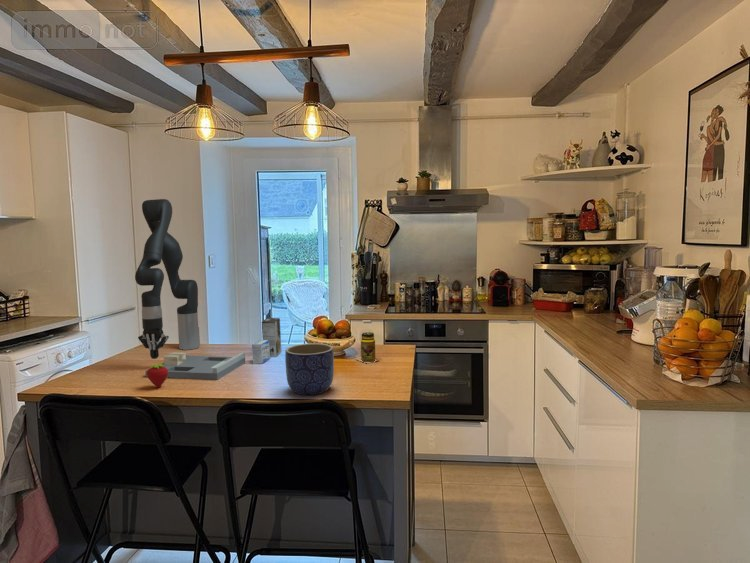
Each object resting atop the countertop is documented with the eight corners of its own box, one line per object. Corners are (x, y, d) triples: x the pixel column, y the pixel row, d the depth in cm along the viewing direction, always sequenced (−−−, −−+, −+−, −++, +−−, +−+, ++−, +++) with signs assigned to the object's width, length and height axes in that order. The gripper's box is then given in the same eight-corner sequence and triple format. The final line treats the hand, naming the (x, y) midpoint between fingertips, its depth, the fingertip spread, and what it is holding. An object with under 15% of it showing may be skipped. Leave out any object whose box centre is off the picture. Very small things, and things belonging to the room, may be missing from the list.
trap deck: (181, 360, 212) (180, 350, 211) (245, 362, 206) (244, 352, 206) (145, 377, 188) (145, 365, 188) (217, 379, 183) (216, 368, 182)
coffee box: (267, 352, 225) (266, 317, 223) (281, 352, 224) (280, 317, 223) (262, 357, 215) (261, 321, 214) (277, 357, 215) (275, 321, 214)
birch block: (172, 360, 202) (172, 352, 202) (185, 361, 201) (185, 352, 201) (164, 364, 196) (163, 356, 196) (177, 365, 195) (177, 356, 195)
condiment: (365, 364, 201) (365, 335, 200) (354, 360, 208) (354, 332, 207) (380, 361, 205) (379, 333, 204) (369, 357, 212) (368, 330, 211)
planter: (344, 389, 170) (343, 347, 168) (308, 401, 157) (306, 357, 156) (313, 380, 181) (311, 340, 179) (276, 391, 168) (275, 349, 167)
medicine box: (262, 364, 204) (261, 344, 203) (252, 364, 205) (251, 343, 204) (270, 359, 212) (269, 340, 211) (260, 359, 212) (259, 339, 212)
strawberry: (153, 384, 179) (152, 357, 178) (172, 385, 177) (171, 358, 176) (143, 389, 173) (142, 362, 172) (163, 390, 172) (161, 362, 171)
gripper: (172, 315, 201) (174, 356, 203) (143, 315, 203) (146, 355, 205) (161, 318, 194) (163, 361, 195) (131, 318, 196) (134, 360, 198)
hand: (154, 358), depth 200 cm, fingers closed
